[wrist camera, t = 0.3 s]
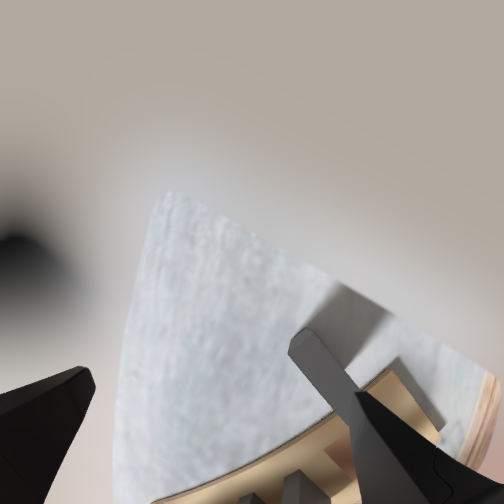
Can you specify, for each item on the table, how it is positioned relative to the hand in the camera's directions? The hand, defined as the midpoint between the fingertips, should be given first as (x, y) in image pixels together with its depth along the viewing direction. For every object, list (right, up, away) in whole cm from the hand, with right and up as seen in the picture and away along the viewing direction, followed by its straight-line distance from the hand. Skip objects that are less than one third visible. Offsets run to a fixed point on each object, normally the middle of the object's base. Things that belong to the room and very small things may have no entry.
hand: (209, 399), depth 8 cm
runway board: (+4, -18, +10) cm, 21 cm away
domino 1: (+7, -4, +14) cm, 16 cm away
